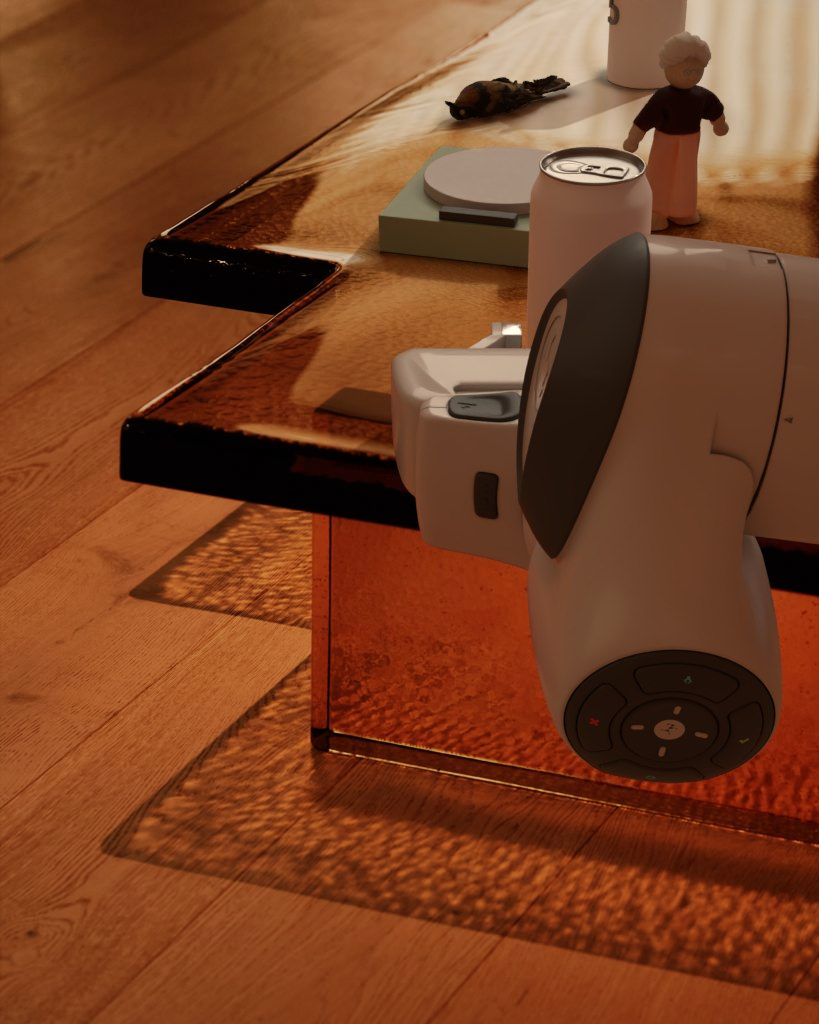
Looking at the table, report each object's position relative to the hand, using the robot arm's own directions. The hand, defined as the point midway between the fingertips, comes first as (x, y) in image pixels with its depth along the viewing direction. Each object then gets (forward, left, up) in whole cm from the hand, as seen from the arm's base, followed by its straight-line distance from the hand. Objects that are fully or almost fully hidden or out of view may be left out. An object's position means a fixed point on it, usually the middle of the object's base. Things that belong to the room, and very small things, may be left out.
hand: (603, 335), depth 78 cm
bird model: (+19, -54, -7) cm, 58 cm away
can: (+3, -10, -7) cm, 13 cm away
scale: (+13, -30, -7) cm, 33 cm away
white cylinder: (+10, -65, -7) cm, 66 cm away
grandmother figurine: (+2, -34, -7) cm, 35 cm away
